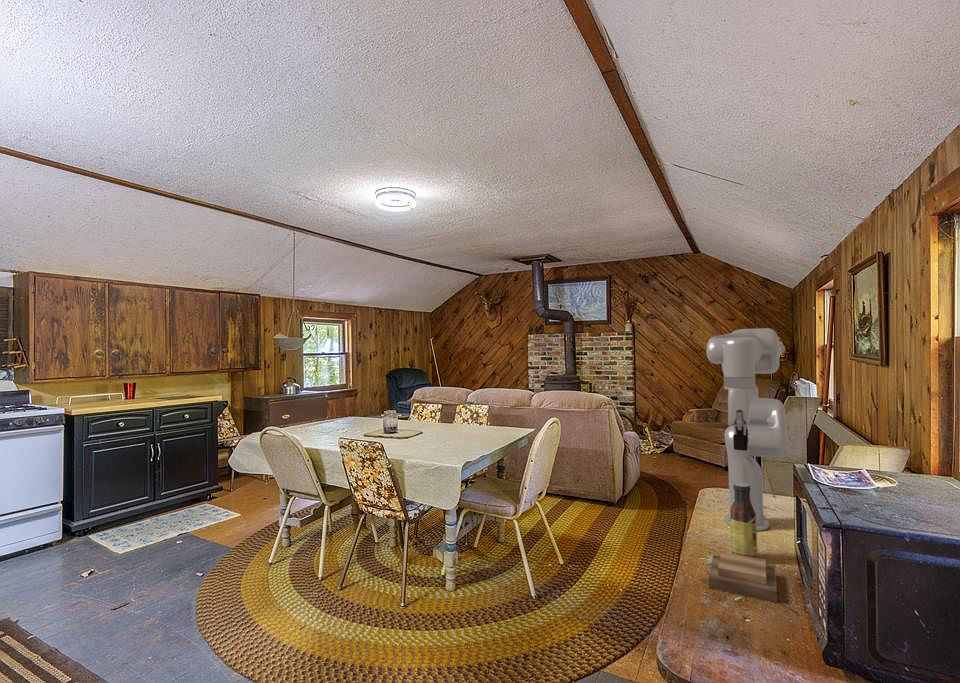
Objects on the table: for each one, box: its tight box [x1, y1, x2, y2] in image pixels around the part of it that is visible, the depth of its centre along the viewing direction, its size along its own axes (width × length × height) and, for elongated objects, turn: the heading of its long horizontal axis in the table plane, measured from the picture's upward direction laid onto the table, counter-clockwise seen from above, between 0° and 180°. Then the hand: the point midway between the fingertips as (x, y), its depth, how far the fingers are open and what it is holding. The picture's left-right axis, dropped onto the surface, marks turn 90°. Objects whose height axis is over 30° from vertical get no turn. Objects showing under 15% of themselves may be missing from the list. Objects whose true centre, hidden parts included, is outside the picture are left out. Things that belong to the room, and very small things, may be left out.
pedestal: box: [708, 551, 778, 603], centre depth 119 cm, size 14×14×4 cm
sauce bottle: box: [729, 483, 758, 558], centre depth 132 cm, size 7×6×20 cm
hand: (741, 446), depth 131 cm, fingers open, 9 cm apart
